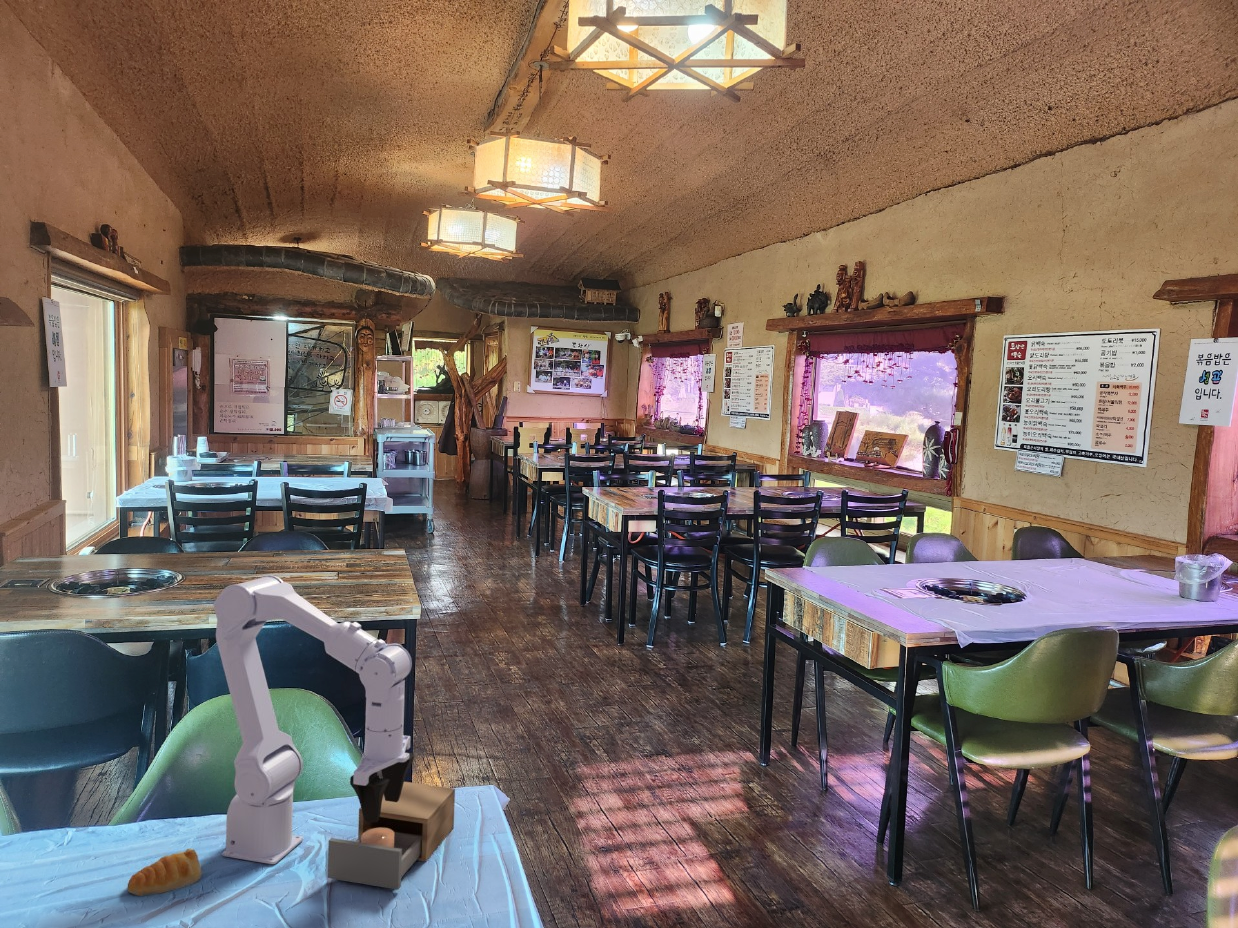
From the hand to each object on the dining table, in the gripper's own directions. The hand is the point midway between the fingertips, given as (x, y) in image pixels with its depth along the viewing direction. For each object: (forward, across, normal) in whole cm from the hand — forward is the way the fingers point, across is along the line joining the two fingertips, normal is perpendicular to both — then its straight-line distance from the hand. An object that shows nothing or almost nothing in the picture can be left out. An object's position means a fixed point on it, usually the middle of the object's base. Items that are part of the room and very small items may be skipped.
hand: (381, 810), depth 123 cm
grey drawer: (+9, 0, 0) cm, 9 cm away
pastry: (+10, -11, +28) cm, 32 cm away
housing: (+9, +9, 0) cm, 13 cm away
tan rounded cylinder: (+8, 0, 0) cm, 8 cm away
